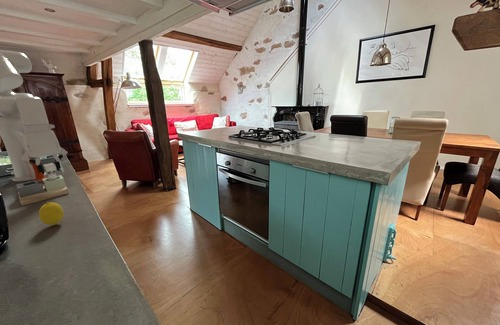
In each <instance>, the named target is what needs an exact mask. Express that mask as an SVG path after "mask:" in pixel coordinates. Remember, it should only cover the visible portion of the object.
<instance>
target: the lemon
mask: <svg viewBox="0 0 500 325" xmlns="http://www.w3.org/2000/svg"><path fill="white" fill-rule="evenodd" d="M64 214H65V213H64V210H63V208H62V206H61V205H60V204H59V203H57V202H51V201H47V202H46V203H44V204H43V205H42V206H41V207H40V208H39V211H38V216H39V220H40V221H41V222H42V223H43V224H44V225H49V226H50V225H51V226H56V225H57V224H58V223H59V222H60V223H61V221H62V219H64V218H63V217H64Z"/></svg>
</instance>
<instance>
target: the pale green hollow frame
mask: <svg viewBox="0 0 500 325" xmlns="http://www.w3.org/2000/svg"><path fill="white" fill-rule="evenodd" d="M56 177H57V179H55V180H51V181H50V180H49V177H47V178H45V179H42V180H43V186H45V188H46V190H47V191H51V190H55V189H59V188H63V187H66V188H67V185H66V182H65V178H64V177H63V175H61V174H60V175H56Z"/></svg>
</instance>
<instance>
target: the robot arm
mask: <svg viewBox="0 0 500 325" xmlns="http://www.w3.org/2000/svg"><path fill="white" fill-rule="evenodd" d="M32 65H33V64H32V62H31V60H30V58H29V57H28V56H27V55H26V54H25V53H23V52H20V51H15V50H14V51H13V50H6V49H0V137H1V140H2V142H3V144H4V146H5V147H4V148H5V149H6V151H7V152H6V153H7V156H8V158H9V161H10V164H11V166H12V169H13V170H12V171H11V172H10V174H11V175H14V177H12V181H13V182H15V183H16V182H17V183H19V182H21V183H22V182H29V181H34V180H35V178H36V177H35V172H34V169H33V167H32V165H31V164H30V163H29V162H31V163H33V164H36V165H37V167H38V170H39V172H42V174H44V175H45V176H47V172H46V171H45V169H44V166H43V163H42V162H41V163H40V159H41V158H44V157H49V156H52V157H53V159H54V161H53V164H54V165H55V166H56V169H57V170H56V171H58V172H60V170H61V168H62V166H61V163H60V161H61V159H62V158H63V157H65V155H67V154H68V151H67V150H65V148H63V147H61V145H60V143H59V140H58V138H57V136H56V134H55V131H54V130H52V129H54V128H56V127H55V124H50V123H49V119H48V116H47V113H46V108H45V105H44V103H43V102H44V101H43V99H42V98H40V97H39V96H34V95H33V94H30V93H28V92H27V93H26V92H14V91H13V90H15V89H17V88H20V87H21V86H22V85H23V83H24V78H23V77H22V75H21V74H28V73H30V72H32V70H33V66H32ZM28 157H30V158H35V160H33V159H30V158H28Z"/></svg>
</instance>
